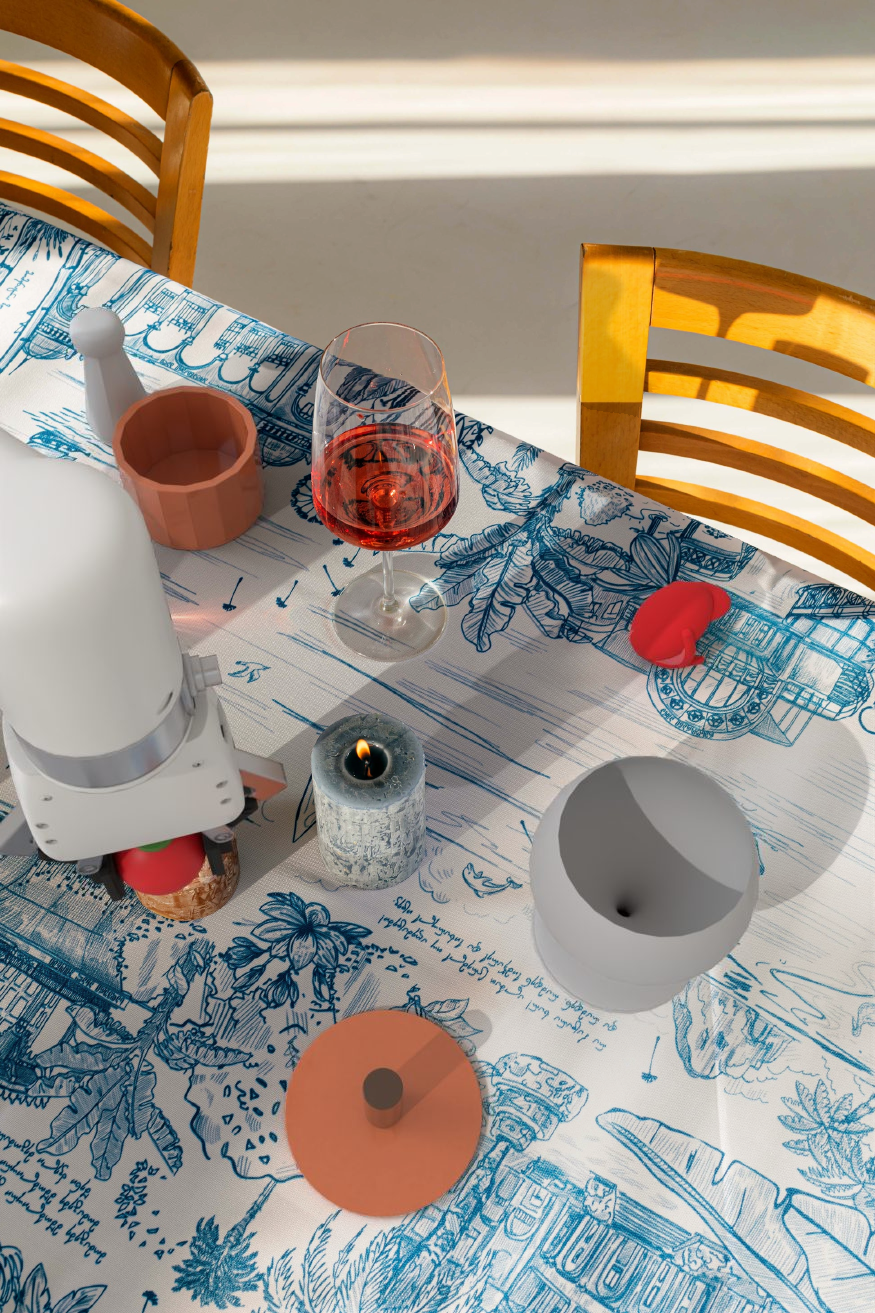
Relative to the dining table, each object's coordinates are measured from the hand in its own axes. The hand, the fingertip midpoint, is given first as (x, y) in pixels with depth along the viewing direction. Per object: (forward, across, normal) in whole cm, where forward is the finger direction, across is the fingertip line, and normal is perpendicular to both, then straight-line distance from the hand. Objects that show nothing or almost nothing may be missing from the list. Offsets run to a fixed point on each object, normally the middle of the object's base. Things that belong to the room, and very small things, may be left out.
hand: (165, 862), depth 67 cm
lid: (+16, -9, +13) cm, 23 cm away
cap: (+17, -40, -16) cm, 46 cm away
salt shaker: (+17, -2, -49) cm, 52 cm away
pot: (+17, -6, -40) cm, 44 cm away
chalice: (+17, -28, +6) cm, 33 cm away
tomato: (0, 0, 0) cm, 0 cm away
